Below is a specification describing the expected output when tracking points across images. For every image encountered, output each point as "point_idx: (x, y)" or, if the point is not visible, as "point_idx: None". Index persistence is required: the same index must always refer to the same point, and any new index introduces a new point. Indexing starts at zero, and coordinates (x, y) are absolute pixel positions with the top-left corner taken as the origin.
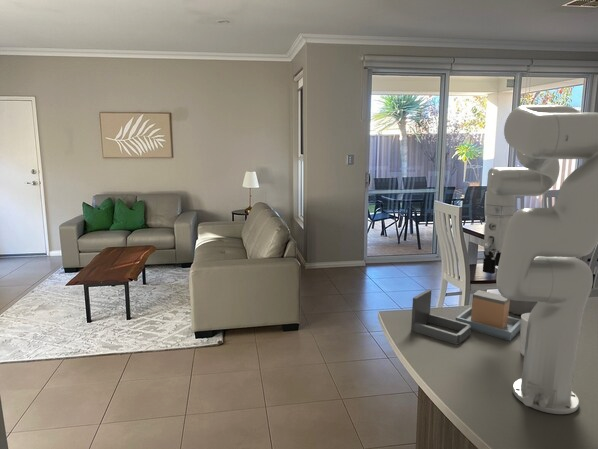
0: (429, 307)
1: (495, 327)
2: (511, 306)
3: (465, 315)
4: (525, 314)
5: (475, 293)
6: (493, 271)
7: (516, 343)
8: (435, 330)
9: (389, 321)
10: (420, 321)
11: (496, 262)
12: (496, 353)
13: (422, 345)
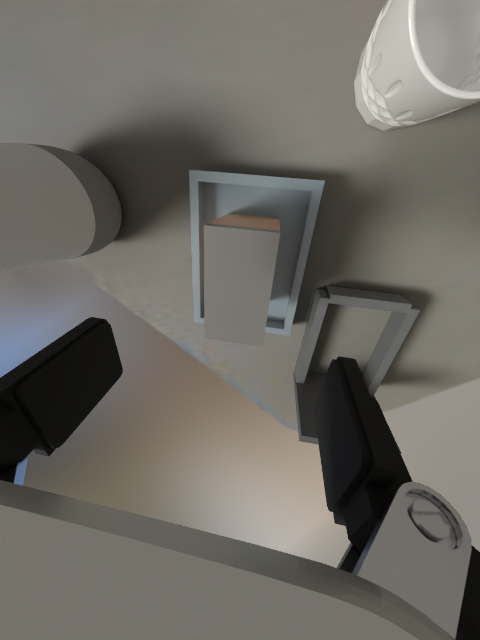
0: (302, 395)
1: (305, 235)
2: (113, 229)
3: None
4: (439, 82)
5: (249, 341)
6: (356, 372)
7: (329, 158)
8: (393, 355)
9: None
10: None
11: (108, 380)
12: (433, 196)
13: (440, 354)
